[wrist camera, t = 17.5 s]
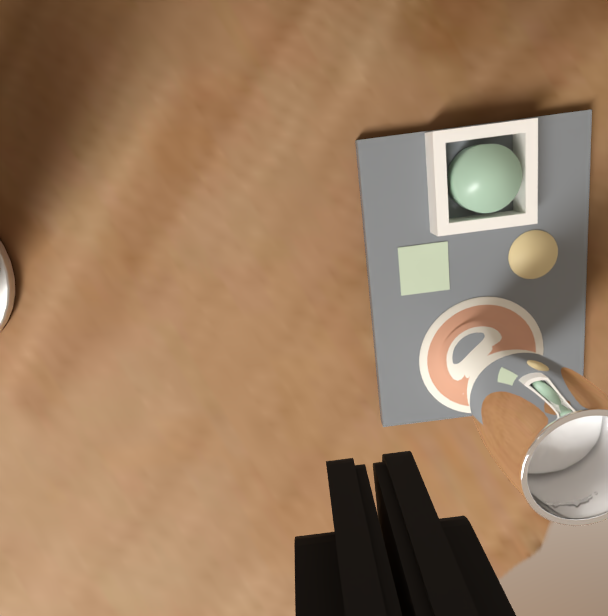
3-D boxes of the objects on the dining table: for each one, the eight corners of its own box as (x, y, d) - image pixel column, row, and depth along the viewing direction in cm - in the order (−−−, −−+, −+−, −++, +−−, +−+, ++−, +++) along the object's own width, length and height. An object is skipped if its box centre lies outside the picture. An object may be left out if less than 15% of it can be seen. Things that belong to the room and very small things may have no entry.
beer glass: (445, 306, 38) (539, 397, 24) (534, 319, 39) (679, 415, 24) (425, 391, 40) (501, 522, 26) (510, 402, 41) (631, 536, 26)
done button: (447, 213, 36) (456, 217, 34) (444, 148, 35) (453, 148, 33) (509, 205, 36) (522, 208, 34) (509, 140, 35) (522, 139, 33)
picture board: (381, 420, 42) (387, 440, 39) (355, 140, 36) (361, 139, 33) (575, 396, 42) (596, 413, 39) (583, 110, 36) (609, 106, 33)
